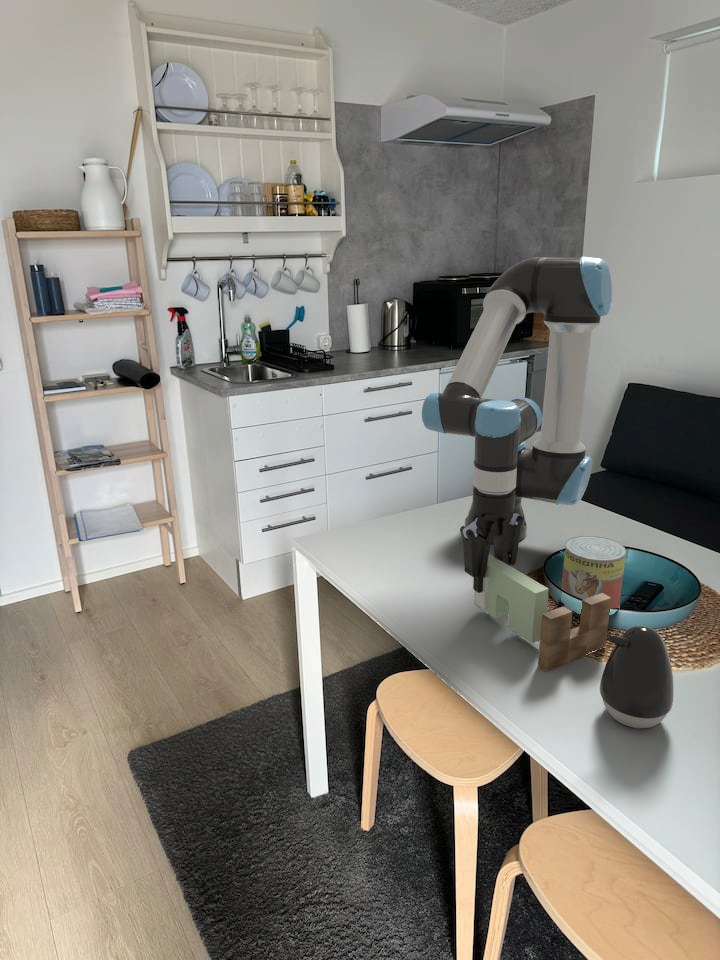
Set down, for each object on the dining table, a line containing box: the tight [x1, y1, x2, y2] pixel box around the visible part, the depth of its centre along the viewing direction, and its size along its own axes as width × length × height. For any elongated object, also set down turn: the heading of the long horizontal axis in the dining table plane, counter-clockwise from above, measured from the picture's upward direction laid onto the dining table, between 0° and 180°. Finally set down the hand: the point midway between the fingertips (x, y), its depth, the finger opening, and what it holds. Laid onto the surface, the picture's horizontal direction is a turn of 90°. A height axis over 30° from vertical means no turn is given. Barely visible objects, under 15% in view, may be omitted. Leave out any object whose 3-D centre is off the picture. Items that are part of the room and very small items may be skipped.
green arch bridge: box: [473, 553, 549, 644], centre depth 126 cm, size 3×16×10 cm, turn 29°
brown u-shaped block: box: [537, 593, 611, 673], centre depth 118 cm, size 14×2×10 cm, turn 120°
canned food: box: [561, 535, 627, 609], centre depth 135 cm, size 11×11×12 cm
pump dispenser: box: [599, 625, 675, 729], centre depth 102 cm, size 10×10×15 cm
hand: (488, 602), depth 132 cm, fingers closed on green arch bridge, 3 cm apart
